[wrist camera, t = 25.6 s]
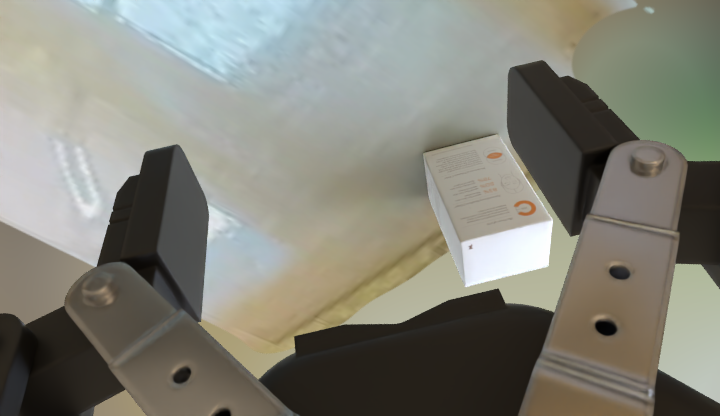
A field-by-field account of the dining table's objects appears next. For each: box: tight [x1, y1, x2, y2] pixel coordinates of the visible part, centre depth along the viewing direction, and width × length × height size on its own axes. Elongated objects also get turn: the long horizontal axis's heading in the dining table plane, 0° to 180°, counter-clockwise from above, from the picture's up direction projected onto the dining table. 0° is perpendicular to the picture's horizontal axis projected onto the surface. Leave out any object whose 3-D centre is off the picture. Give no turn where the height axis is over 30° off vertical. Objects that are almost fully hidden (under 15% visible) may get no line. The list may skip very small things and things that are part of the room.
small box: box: [423, 134, 553, 287], centre depth 52 cm, size 8×6×13 cm
